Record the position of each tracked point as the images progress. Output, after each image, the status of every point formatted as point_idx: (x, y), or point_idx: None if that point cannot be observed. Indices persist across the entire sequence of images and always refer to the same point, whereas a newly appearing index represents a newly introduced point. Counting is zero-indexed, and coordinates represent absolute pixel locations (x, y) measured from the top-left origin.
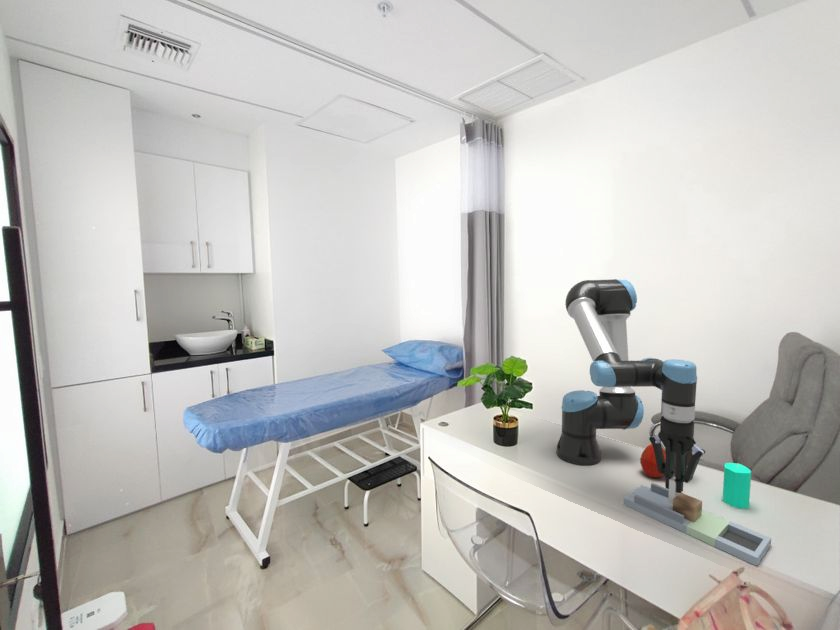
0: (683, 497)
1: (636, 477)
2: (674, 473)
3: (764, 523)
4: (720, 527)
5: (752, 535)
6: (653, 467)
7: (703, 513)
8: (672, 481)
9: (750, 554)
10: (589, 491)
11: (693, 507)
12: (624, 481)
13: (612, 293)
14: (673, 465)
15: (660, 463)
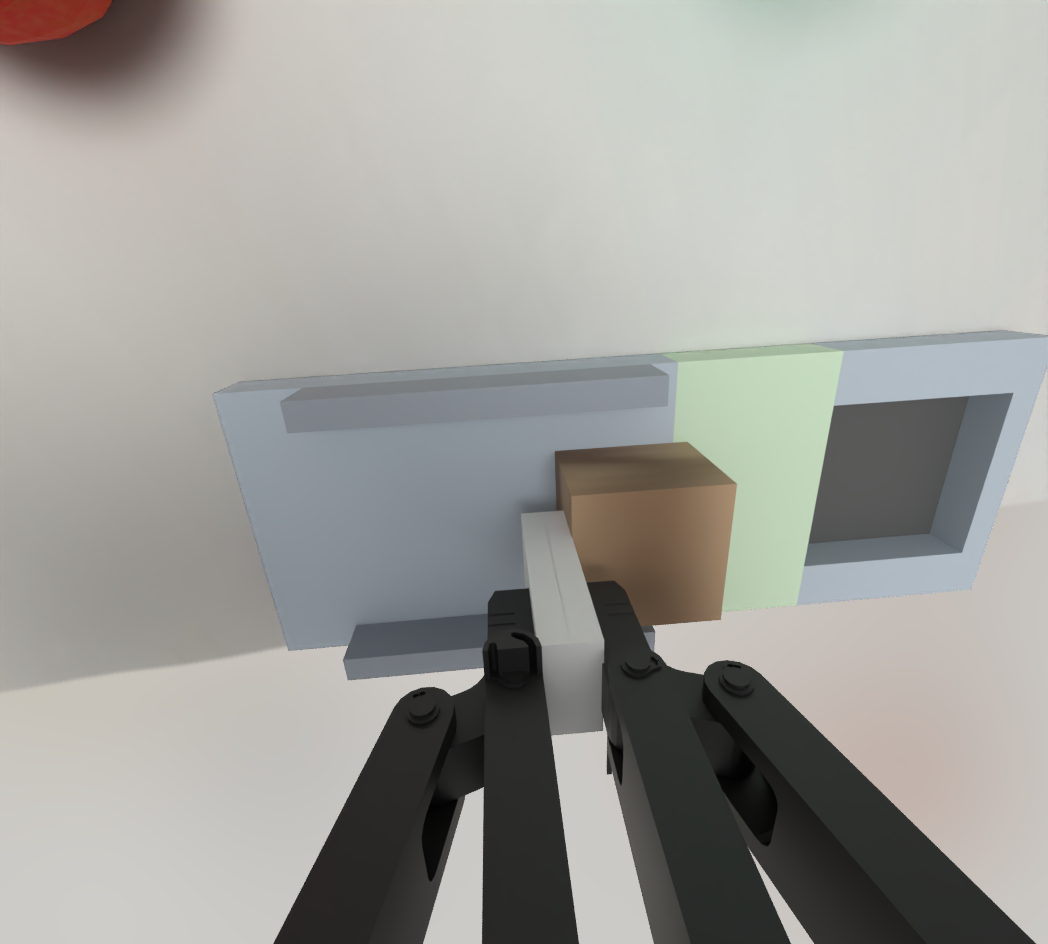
0: (615, 552)
1: (29, 175)
2: (539, 650)
3: (995, 35)
4: (803, 481)
5: (955, 395)
6: (5, 15)
7: (689, 406)
8: (573, 725)
9: (944, 589)
10: (102, 663)
11: (712, 618)
12: (61, 351)
13: None
14: (560, 816)
15: (422, 923)
